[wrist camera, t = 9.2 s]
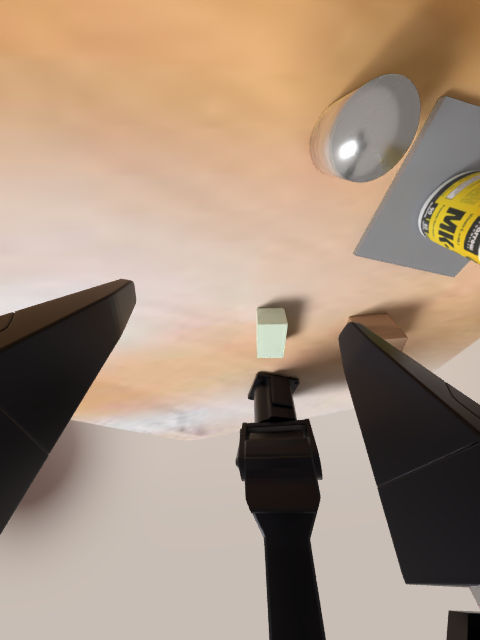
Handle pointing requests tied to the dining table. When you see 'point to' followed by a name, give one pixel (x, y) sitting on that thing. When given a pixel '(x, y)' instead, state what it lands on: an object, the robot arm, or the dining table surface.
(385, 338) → the walnut block
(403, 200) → the coaster
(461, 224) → the supplement bottle
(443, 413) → the robot arm
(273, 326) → the sage box
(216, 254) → the dining table surface
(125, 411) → the dining table surface
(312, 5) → the dining table surface
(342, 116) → the metal shaker
